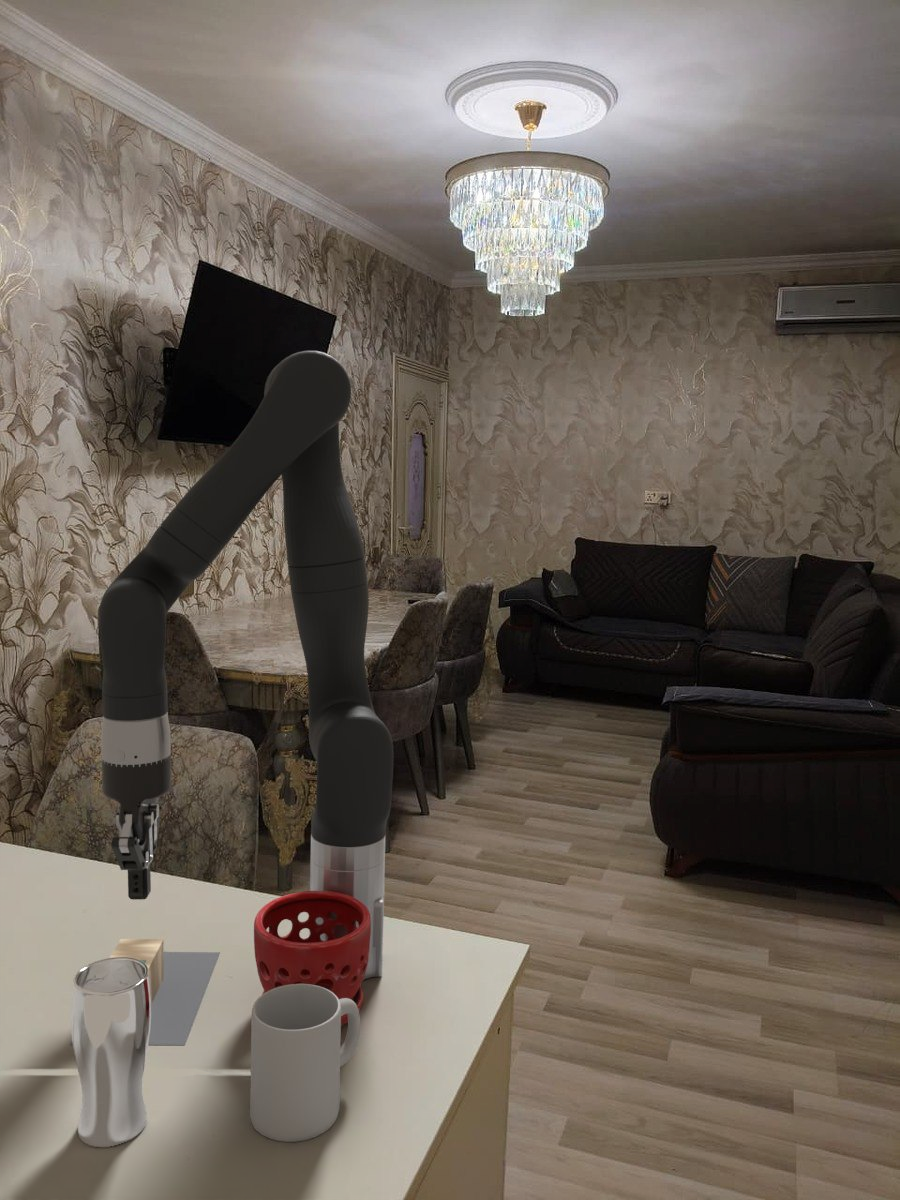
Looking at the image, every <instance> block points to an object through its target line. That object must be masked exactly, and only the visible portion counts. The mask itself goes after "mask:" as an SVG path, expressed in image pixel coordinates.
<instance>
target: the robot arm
mask: <svg viewBox="0 0 900 1200" xmlns="http://www.w3.org/2000/svg"><path fill="white" fill-rule="evenodd" d="M263 391H264V392H263V395H264V397H263V398H262V400H261V401H260V404H259V406H258V407H257V409H256V411H255V412H254V414H253V416H252V417H251V419H250V420H249V422H248V423H247V424H246V426H245V428H244V429H243V430H242V431H241V433H240V434H239V435H238V437H237V438H236V439H235V441H233V443H232V444H231V445H230V447H228V449H227V450H226V451H225V452H224V453H223V454H222V456H221V457H219V458H218V460H216V462H215V463H214V464H213V465H212V466H211V467H210V468H209V469H208V470H207V471H206V472H205V473H204V474H203V475H202V476H201V477H200V478H199V479H198V481H196V482H195V483H194V484H193V486H191V487H190V489H189V490H188V491H187V492H186V493H185V495H184V496H183V497H182V498H181V499H180V500H179V502H177V503H176V505H174V506H175V507H174V508H172V510H171V511H170V513H168V515H167V516H166V517H165V519H164V520H163V521H162V522H161V524H160V525H159V526H158V527H157V528H156V530H155V531H154V533H153V534H152V535H151V537H150V539H149V540H148V542H147V544H146V545H145V546H144V547H143V549H142V550H140V552H139V553H138V554H137V555H136V556H135V557H134V558H133V559H132V560H131V561H130V562H129V563H128V564H127V566H125V568H124V569H123V570H122V571H121V572H120V573H119V574H118V576H117V577H115V579H114V580H113V581H112V583H111V584H110V585H109V586H108V587H107V588H106V590H105V592H104V594H103V596H102V598H101V601H100V604H99V609H98V627H99V639H100V648H101V649H100V651H101V657H102V666H103V672H102V673H103V674H102V683H101V684H102V686H101V691H102V692H101V693H102V694H101V695H102V696H101V697H102V699H101V701H102V702H101V703H102V725H101V733H100V737H101V738H100V743H101V744H100V749H101V750H100V751H101V783H102V784H101V785H102V787H101V788H102V794H103V795H104V797H106V798H107V799H110V800H113V801H116V802H117V803H119V805H120V806H119V811H117V812H116V814H115V826H116V828H117V830H118V836H113V837H112V840H111V848H112V850H113V854H114V855H115V857H116V860H117V861H116V862H117V863H118V865H119V868H120V870H121V871H127V891H128V892H127V893H128V894H127V896H128V898H129V899H130V900H134V901H135V900H146V899H147V898H148V897H149V895H150V893H151V891H152V885H151V884H152V882H151V864H152V861H153V860H154V854H153V853H155V852H156V850H157V848H158V845H157V844H158V838H159V830H160V823H161V815H162V810H163V804H162V802H156V799H157V798H160V797H162V796H165V795H166V794H167V793H169V791H170V790H171V788H172V764H171V763H172V756H171V755H172V750H171V746H172V745H171V742H172V741H171V728H170V721H169V711H168V707H169V705H168V703H169V702H168V682H167V681H168V680H167V675H166V674H167V673H166V672H167V671H166V669H165V660H166V659H165V657H166V637H167V632H166V631H167V614H168V612H169V611H170V610H171V608H172V606H173V605H174V604H175V603H176V602H177V600H178V599H179V598H180V596H181V595H182V594H183V593H184V592H185V590H186V589H187V587H188V586H189V585H190V584H191V583H192V582H193V581H195V580H197V579H199V577H200V576H201V575H202V574H204V573H205V571H207V569H208V568H209V567H210V566H211V564H212V563H213V562H214V561H215V560H216V559H217V557H218V556H219V554H220V553H221V552H222V551H223V549H225V547H226V546H228V543H229V542H230V541H231V539H232V538H233V537H234V536H235V534H236V533H237V532H238V531H239V529H240V528H241V526H242V525H243V524H244V523H245V522H246V520H247V518H248V517H249V516H250V515H251V513H252V512H253V511H254V509H255V508H256V507H257V506H258V504H259V503H260V501H261V500H262V498H263V497H264V496H265V494H266V493H267V492H268V491H269V489H270V488H272V486H273V485H274V484H275V482H276V481H278V479H279V478H280V476H281V482H282V495H283V496H282V498H283V502H282V503H283V524H284V537H285V538H284V539H285V547H286V548H285V549H286V560H287V562H286V563H287V569H288V575H289V576H288V578H289V585H290V592H291V599H292V603H293V604H292V605H293V608H294V609H293V610H294V615H295V620H296V625H297V631H298V635H299V640H300V643H301V648H302V652H303V656H304V660H305V661H304V662H305V667H306V675H307V676H306V678H307V694H308V695H307V697H308V741H309V747H310V751H311V754H312V755H313V757H314V760H315V761H316V792H315V793H316V796H315V798H316V799H315V806H314V807H315V808H314V810H312V811H313V812H312V813H311V819H310V820H311V821H310V825H311V827H310V866H309V868H310V870H309V871H310V872H309V873H310V874H309V891H330V892H337V893H342V894H346V895H349V896H351V897H354V898H356V899H357V900H359V901H360V902H362V903H363V904H364V905H365V906H366V907H367V909H368V910H369V912H370V917H371V935H370V950H369V959H368V965H367V969H366V972H365V975H364V978H363V981H365V980H367V979H369V978H372V977H373V978H374V977H382V974H383V973H382V972H383V948H384V947H383V946H384V943H383V941H384V939H383V938H384V919H385V918H384V913H385V912H384V911H385V872H386V871H385V869H386V867H385V864H386V863H385V861H386V834H387V833H386V832H387V821H388V819H389V816H390V814H391V808H392V797H393V795H392V793H393V779H394V758H395V757H394V744H393V738H392V735H391V733H390V730H389V729H388V727H387V726H386V725H385V723H384V722H383V721H382V720H381V719H380V718H379V717H378V715H377V714H376V711H375V708H374V705H373V701H372V698H371V697H372V696H371V693H370V689H369V682H368V677H367V671H366V665H365V645H366V637H367V636H366V635H367V627H368V619H369V618H368V617H369V606H370V605H369V604H370V603H369V599H370V596H369V595H370V594H369V582H368V581H369V580H368V574H367V573H368V572H367V564H366V557H365V555H366V554H365V549H364V548H365V547H364V544H363V539H362V535H361V531H360V527H359V524H358V521H357V517H356V514H355V511H354V508H353V505H352V502H351V499H350V496H349V493H348V489H347V487H346V484H345V479H344V475H343V469H342V461H341V449H340V447H341V445H340V428H339V427H340V422H341V421H342V420H343V418H344V416H346V414H347V411H348V409H349V407H350V404H351V399H352V385H351V380H350V377H349V375H348V372H347V370H346V369H345V368H344V366H343V365H342V363H341V362H339V360H338V359H336V358H335V357H333V356H332V355H330V354H328V353H326V352H323V351H318V350H303V351H298V352H295V353H292V354H290V355H289V356H287V357H285V358H284V359H282V360H281V361H280V362H279V363H277V365H275V367H273V369H271V371H270V373H269V374H268V376H267V378H266V381H265V385H264V390H263ZM330 917H331V918H332V919H334V920H335V919H337V914H336V913H334V912H331V913H330ZM323 922H324V921H323V919H322V918H321V917H319V918H317V919H316V923H317V924H319V925H320V924H323ZM356 927H357V928H358V927H359V924H358V922H357V921H356ZM308 930H309V929H308ZM334 934H335V937H336V938H337V939H338V938H341V937H344V936H346V935H348V932H347V930H346V928H345V927H344V926H342V925H338V926H336V928H335V930H334ZM309 936H310V930H309V931H308V937H309ZM320 938H321V940H322V941H327V940H328V936H327V934H325V933H324V934H321V935H320Z"/></svg>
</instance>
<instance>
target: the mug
mask: <svg viewBox="0 0 900 1200" xmlns="http://www.w3.org/2000/svg"><path fill="white" fill-rule="evenodd" d="M262 994H263V993H262ZM262 994H260V996H259V997H258V998H257V999H256V1000H255V1001H254V1003H253V1006H252V1008H251V1022H250V1023H251V1024H250V1025H251V1031H250V1033H251V1034H250V1035H251V1037H250V1038H251V1041H250V1042H251V1044H250V1049H251V1051H250V1093H249V1094H250V1096H249V1097H250V1098H249V1099H250V1100H249V1116H250V1121H251V1124H252V1126H253V1127H254V1129H255V1130H256V1131H257V1133H259V1134H260V1135H262V1136H263V1137H265V1138H267V1139H270V1140H273V1141H276V1142H282V1143H297V1142H303V1141H308V1140H312V1139H314V1138H316V1137H319V1136H321V1135H322V1134H324V1133H325V1132H327V1131H329V1129H330V1128H331V1127H332V1126H333V1125H334V1123H335V1122H336V1120H337V1118H338V1116H339V1112H340V1102H341V1101H340V1099H341V1097H340V1095H341V1093H340V1089H341V1087H340V1079H341V1078H340V1077H341V1076H340V1075H341V1069H340V1068H341V1067H342V1066H344V1065H345V1064H346V1063H347V1062H349V1061H350V1060H351V1059H352V1057H353V1056H354V1054H355V1053H356V1051H357V1047H358V1044H359V1039H360V1034H361V1033H360V1030H361V1017H360V1010H358V1008H357V1005H356V1003H355V1002H354V1001H353V1000H351V999H348V998H342V999H338V997H337V996H336V995H335V994H334V993H333V992H331V991H330V990H328V989H326V988H323V987H320V986H316V985H310V984H291V985H285V986H280V987H277V988H274V989H272V990H269V991H267V992H266V993H264V994H263V995H262ZM344 1014H347V1016H348V1022H347V1030H346V1031H347V1032H346V1036H345V1039H344V1042H343V1044H342V1045H341V1038H342V1037H341V1035H342V1034H341V1029H342V1028H341V1027H342V1026H341V1016H343V1015H344Z"/></svg>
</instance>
